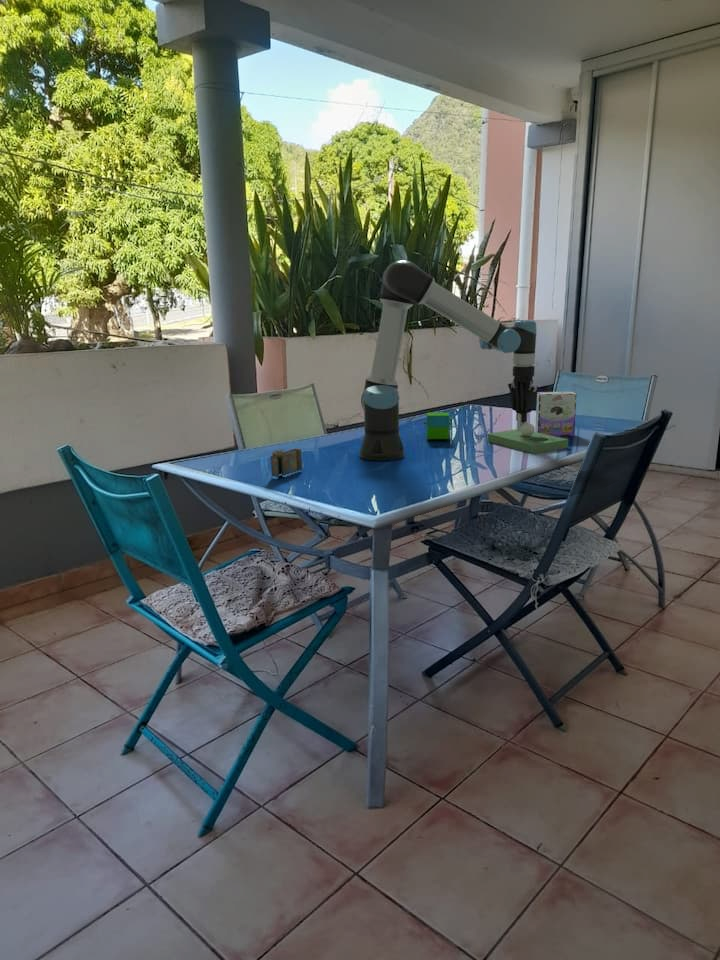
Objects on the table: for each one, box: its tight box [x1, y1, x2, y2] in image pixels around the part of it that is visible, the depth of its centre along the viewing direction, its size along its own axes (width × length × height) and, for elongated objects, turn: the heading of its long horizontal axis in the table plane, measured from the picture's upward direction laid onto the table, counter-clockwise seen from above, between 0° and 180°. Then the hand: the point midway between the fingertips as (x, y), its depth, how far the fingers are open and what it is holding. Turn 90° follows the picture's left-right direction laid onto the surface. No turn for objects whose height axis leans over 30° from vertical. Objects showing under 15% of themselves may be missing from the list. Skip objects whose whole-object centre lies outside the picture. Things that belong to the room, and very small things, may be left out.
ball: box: [520, 422, 535, 437], centre depth 239 cm, size 5×5×5 cm
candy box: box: [534, 391, 577, 437], centre depth 252 cm, size 14×6×16 cm, turn 84°
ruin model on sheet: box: [270, 448, 303, 478], centre depth 205 cm, size 11×3×10 cm, turn 145°
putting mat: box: [486, 428, 569, 454], centre depth 240 cm, size 16×24×3 cm, turn 30°
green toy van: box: [424, 412, 452, 442], centre depth 253 cm, size 10×13×10 cm
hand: (521, 430), depth 242 cm, fingers closed
